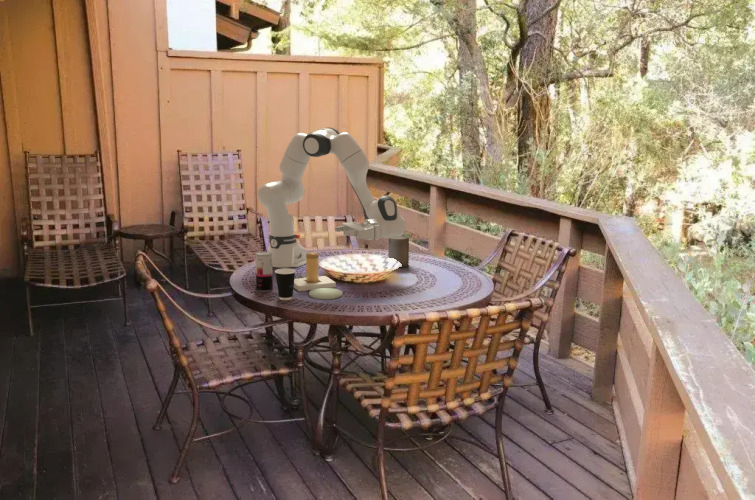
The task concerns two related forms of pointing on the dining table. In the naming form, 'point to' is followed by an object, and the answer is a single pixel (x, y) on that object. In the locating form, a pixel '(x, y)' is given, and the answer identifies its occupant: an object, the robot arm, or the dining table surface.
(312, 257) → the plug
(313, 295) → the mat
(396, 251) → the pillar candle
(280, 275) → the dixie cup
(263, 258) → the beverage can
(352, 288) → the dining table surface
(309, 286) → the socket block
